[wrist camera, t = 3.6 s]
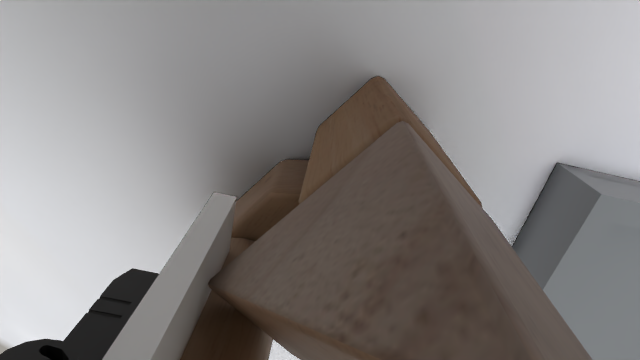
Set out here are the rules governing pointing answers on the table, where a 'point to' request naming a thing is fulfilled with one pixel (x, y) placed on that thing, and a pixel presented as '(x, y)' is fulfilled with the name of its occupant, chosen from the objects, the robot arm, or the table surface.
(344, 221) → the brown tapered wooden part
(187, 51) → the table surface
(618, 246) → the tray
